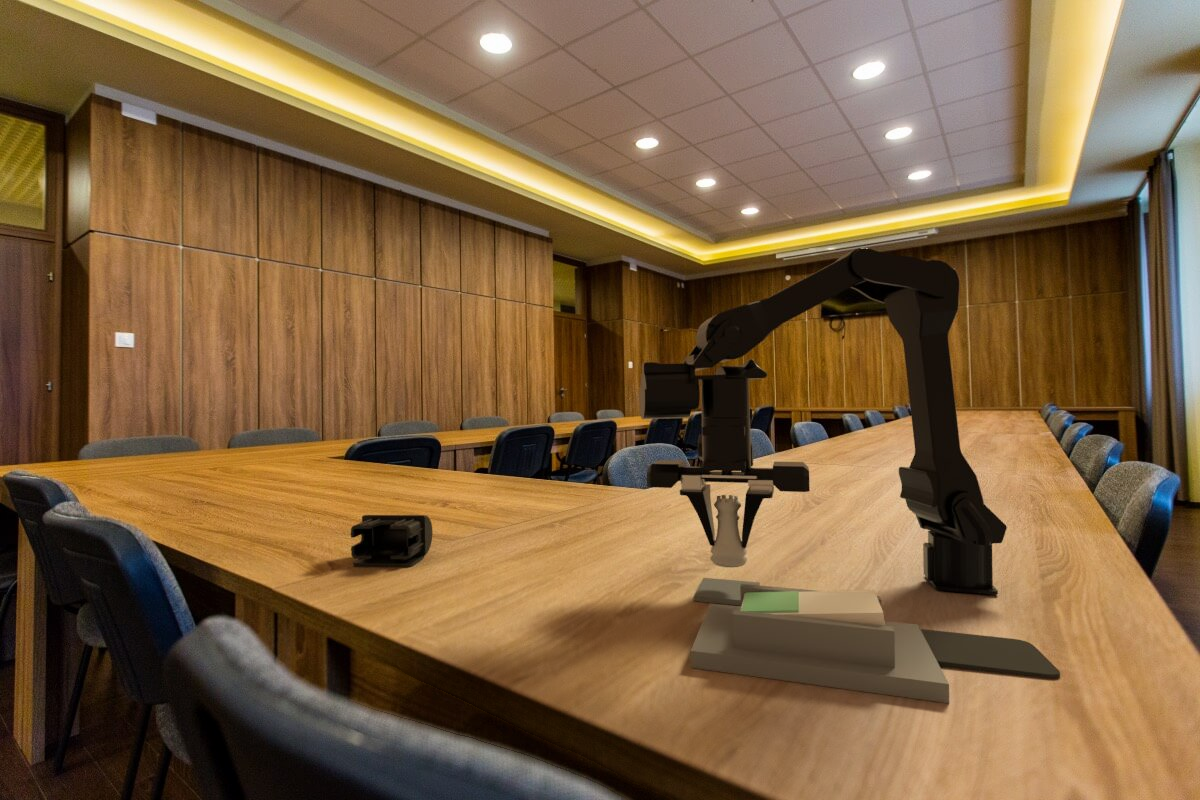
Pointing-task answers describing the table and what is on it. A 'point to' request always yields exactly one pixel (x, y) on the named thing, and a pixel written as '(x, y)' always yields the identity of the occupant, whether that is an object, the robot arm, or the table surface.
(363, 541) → the end cap
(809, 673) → the grey stand
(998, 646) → the phone
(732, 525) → the rook chess piece
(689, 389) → the robot arm
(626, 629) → the table surface
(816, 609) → the rocker
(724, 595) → the rubber pad
